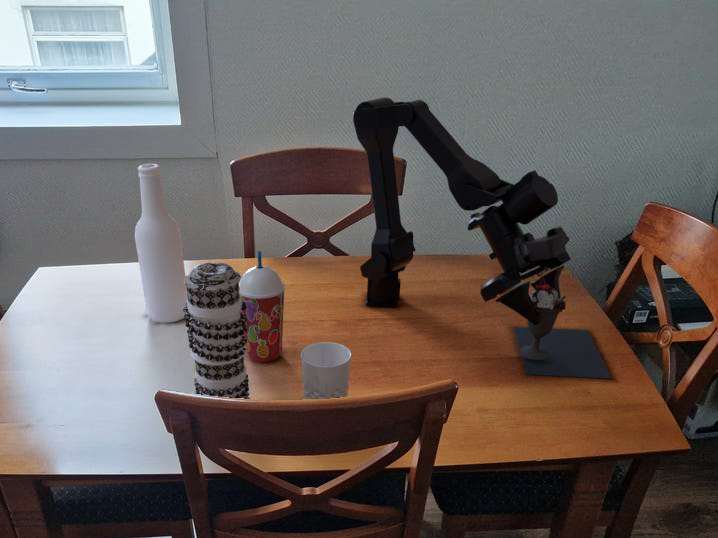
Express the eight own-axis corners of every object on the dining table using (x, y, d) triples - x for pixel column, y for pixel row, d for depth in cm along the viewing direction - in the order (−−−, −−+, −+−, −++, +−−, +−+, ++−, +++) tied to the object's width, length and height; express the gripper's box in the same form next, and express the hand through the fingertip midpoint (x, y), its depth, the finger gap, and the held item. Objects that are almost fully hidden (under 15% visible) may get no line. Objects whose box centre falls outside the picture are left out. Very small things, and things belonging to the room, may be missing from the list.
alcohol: (182, 302, 142) (164, 158, 125) (195, 318, 135) (178, 168, 118) (142, 310, 139) (118, 163, 122) (154, 327, 132) (130, 174, 115)
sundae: (508, 345, 120) (524, 268, 112) (544, 343, 121) (562, 266, 112) (521, 363, 115) (539, 284, 106) (558, 361, 115) (579, 282, 107)
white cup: (346, 423, 103) (348, 368, 97) (297, 418, 104) (296, 364, 99) (352, 396, 109) (354, 343, 104) (305, 392, 111) (305, 340, 105)
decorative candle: (210, 395, 111) (195, 253, 97) (261, 404, 108) (253, 260, 94) (186, 425, 104) (166, 276, 89) (239, 435, 101) (228, 284, 87)
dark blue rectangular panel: (527, 374, 114) (527, 373, 114) (513, 327, 129) (513, 327, 128) (611, 379, 112) (612, 378, 112) (587, 331, 127) (587, 330, 127)
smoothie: (292, 347, 124) (290, 245, 112) (277, 369, 117) (273, 263, 106) (251, 341, 126) (245, 241, 115) (234, 362, 120) (226, 258, 108)
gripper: (507, 226, 101) (555, 315, 101) (573, 202, 111) (617, 282, 110) (460, 260, 111) (503, 341, 110) (524, 235, 121) (564, 309, 120)
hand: (549, 317), depth 112 cm, fingers closed on sundae, 6 cm apart
